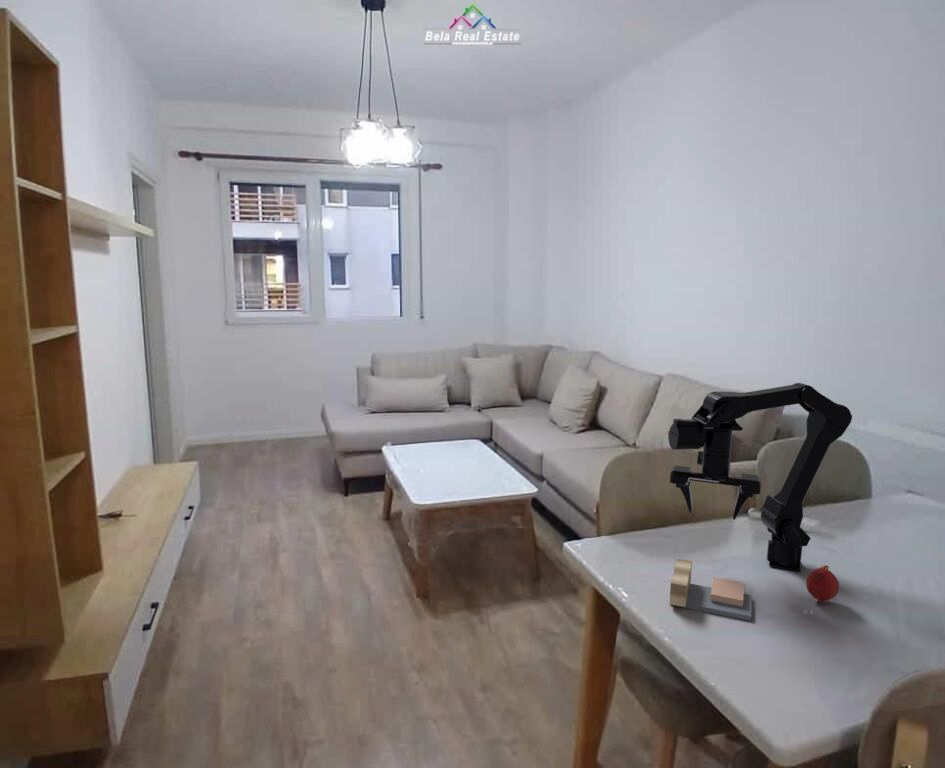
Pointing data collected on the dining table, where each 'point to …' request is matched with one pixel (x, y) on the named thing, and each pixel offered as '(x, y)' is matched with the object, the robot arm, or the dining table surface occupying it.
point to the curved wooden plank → (680, 582)
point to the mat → (716, 603)
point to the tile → (727, 592)
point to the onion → (822, 584)
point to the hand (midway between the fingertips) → (712, 515)
